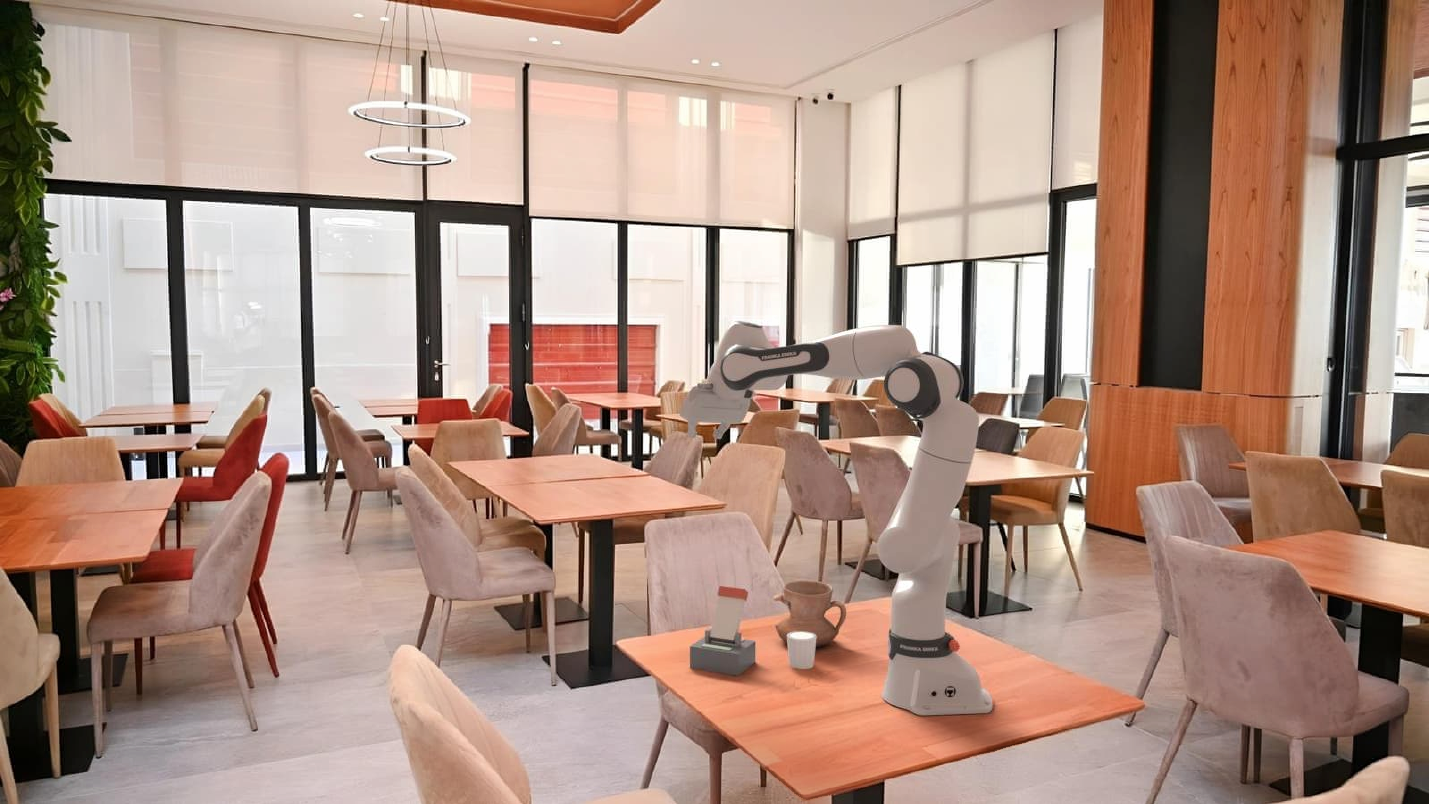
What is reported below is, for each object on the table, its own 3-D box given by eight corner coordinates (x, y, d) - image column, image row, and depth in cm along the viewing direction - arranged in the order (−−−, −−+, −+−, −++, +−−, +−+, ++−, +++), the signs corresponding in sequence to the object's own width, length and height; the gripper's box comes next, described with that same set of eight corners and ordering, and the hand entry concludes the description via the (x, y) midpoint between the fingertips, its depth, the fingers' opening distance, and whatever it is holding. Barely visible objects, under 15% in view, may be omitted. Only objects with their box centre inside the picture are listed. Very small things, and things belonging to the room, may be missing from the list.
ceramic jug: (766, 648, 233) (767, 591, 232) (779, 629, 247) (780, 575, 246) (840, 657, 228) (842, 598, 227) (849, 637, 242) (851, 582, 241)
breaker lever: (711, 641, 223) (723, 589, 228) (737, 645, 220) (748, 592, 225) (707, 639, 221) (719, 585, 226) (733, 643, 218) (744, 589, 223)
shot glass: (816, 660, 225) (816, 631, 224) (816, 670, 218) (816, 640, 217) (786, 659, 225) (787, 630, 225) (786, 669, 219) (786, 639, 218)
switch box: (708, 654, 228) (708, 622, 228) (755, 662, 223) (755, 629, 223) (689, 667, 219) (690, 634, 219) (738, 675, 214) (738, 641, 214)
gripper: (703, 388, 217) (682, 442, 220) (759, 393, 232) (739, 444, 236) (685, 376, 221) (665, 430, 224) (741, 382, 236) (721, 432, 240)
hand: (703, 437), depth 230 cm, fingers open, 8 cm apart
